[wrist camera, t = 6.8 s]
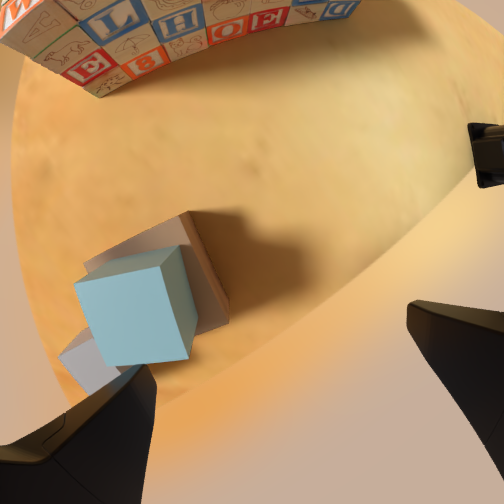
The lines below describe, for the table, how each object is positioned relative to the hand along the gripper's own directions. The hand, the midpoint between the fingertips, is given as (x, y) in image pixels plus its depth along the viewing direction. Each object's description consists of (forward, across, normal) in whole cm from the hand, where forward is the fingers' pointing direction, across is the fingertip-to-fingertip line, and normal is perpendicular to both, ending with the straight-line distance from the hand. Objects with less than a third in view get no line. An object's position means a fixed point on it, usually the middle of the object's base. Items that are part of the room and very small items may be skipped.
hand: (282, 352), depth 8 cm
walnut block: (+12, +7, 0) cm, 13 cm away
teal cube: (+8, +6, -1) cm, 10 cm away
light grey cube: (+11, +13, +4) cm, 18 cm away
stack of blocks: (+12, -1, -20) cm, 23 cm away
